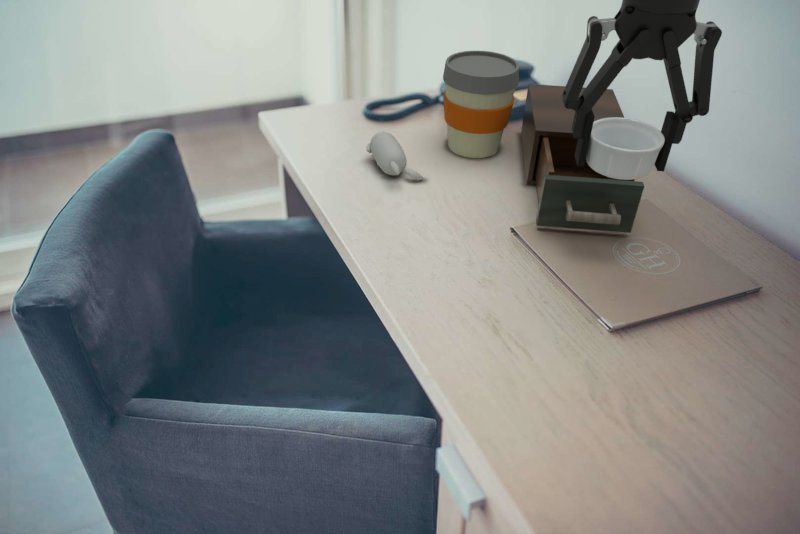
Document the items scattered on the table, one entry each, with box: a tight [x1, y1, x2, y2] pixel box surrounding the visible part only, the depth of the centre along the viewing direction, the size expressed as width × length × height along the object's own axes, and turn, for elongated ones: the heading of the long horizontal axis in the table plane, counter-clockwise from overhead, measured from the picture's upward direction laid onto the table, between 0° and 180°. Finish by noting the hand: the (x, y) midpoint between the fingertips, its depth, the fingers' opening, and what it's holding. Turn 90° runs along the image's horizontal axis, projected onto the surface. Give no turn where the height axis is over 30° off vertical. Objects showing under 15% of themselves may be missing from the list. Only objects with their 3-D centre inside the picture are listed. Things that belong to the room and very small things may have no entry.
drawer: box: [534, 135, 645, 234], centre depth 95 cm, size 22×13×8 cm, turn 174°
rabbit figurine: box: [366, 130, 424, 181], centre depth 105 cm, size 6×5×12 cm
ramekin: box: [586, 117, 665, 180], centre depth 78 cm, size 9×9×4 cm
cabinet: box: [520, 83, 625, 186], centre depth 108 cm, size 19×15×10 cm
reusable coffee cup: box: [442, 50, 520, 159], centre depth 110 cm, size 13×13×15 cm
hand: (618, 163), depth 79 cm, fingers closed on ramekin, 9 cm apart
